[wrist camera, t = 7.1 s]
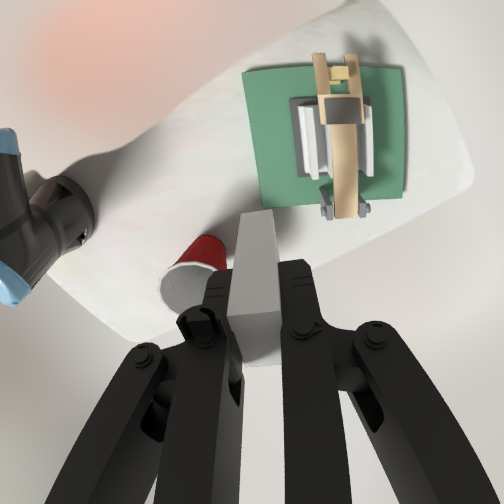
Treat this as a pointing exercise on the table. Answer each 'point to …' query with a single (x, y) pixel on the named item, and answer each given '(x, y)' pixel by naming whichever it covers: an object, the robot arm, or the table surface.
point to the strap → (342, 131)
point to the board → (281, 136)
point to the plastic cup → (191, 274)
